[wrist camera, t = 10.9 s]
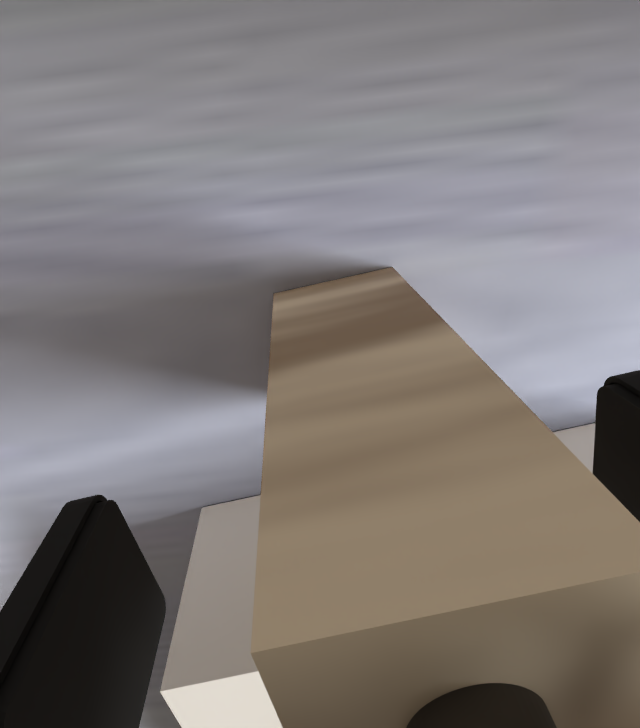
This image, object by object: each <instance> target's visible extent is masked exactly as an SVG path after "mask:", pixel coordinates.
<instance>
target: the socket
mask: <svg viewBox="0 0 640 728" xmlns="http://www.w3.org/2000/svg"><path fill="white" fill-rule="evenodd" d="M553 433H554V434H555V435H556V436H557V437H558V438H559V440H560V441H561V442H562V443H563V444H564V445H565V446H566V447H567V448H568V449H569V450H570V451H571V452H572V453H573V454H574V455H575V456H576V457H577V458H578V459H579V460H580V461H581V462H582V463H583V464H584V465H585V466H586V467H587V468H588V469H589V470H590V472H591V473H592V474H593V457H594V439H595V423H593V424H589V425H584V426H579V427H575V428H570V429H565V430H561V431H556V432H553ZM260 497H261V495H258V496H254V497H249V498H244V499H240V500H235V501H230V502H226V503H221V504H216V505H212V506H207V507H202V509H201V513H200V518H199V522H198V527H197V531H196V535H195V540H194V544H193V548H192V553H191V557H190V562H189V566H188V570H187V575H186V579H185V584H184V588H183V592H182V597H181V601H180V606H179V610H178V614H177V619H176V623H175V627H174V632H173V636H172V641H171V645H170V649H169V654H168V658H167V663H166V667H165V671H164V676H163V680H162V685H161V689H160V693H161V694H162V696H163V698H164V699H165V701H166V702H167V704H168V706H169V707H170V709H171V711H172V712H173V714H174V716H175V717H176V719H177V721H178V722H179V724H180V726H181V727H182V728H283V727H282V725H281V723H280V720H279V718H278V716H277V713H276V711H275V709H274V706H273V704H272V702H271V699H270V697H269V695H268V692H267V690H266V688H265V686H264V683H263V681H262V679H261V676H260V674H259V672H258V669H257V667H256V665H255V662H254V660H253V658H252V655H251V653H250V652H251V637H252V621H253V606H254V590H255V575H256V559H257V544H258V528H259V513H260Z"/></svg>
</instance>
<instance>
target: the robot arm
mask: <svg viewBox="0 0 640 728" xmlns="http://www.w3.org/2000/svg"><path fill="white" fill-rule="evenodd" d="M593 475H594V476H595V477H596V478H597V479H598V480H599V481H600V482H601V483H602V484H603V485H604V486H605V487H606V488H607V489H608V490H609V491H610V492H611V493H612V494H613V495H614V496H615V497H616V498H617V499H618V500H619V501H620V502H621V503H622V505H623V506H624V507H625V508H626V509H627V510H628V511H629V512H630V513H631V514H632V515H633V516H634V517H635V518H636V519H637V520H638V521H639V522H640V370H638V371H633V372H629V373H625V374H620V375H616V376H612V377H609V378H608V379H607V380H606V381H605V383H604V386H603V387H601V388H599V390H598V393H597V405H596V422H595V439H594V457H593ZM165 610H166V606H165V599H164V596H163V593H162V591H161V589H160V587H159V585H158V583H157V582H156V580H155V578H154V576H153V574H152V572H151V570H150V568H149V566H148V564H147V562H146V560H145V558H144V556H143V554H142V552H141V550H140V548H139V546H138V544H137V542H136V540H135V538H134V537H133V535H132V533H131V531H130V529H129V527H128V525H127V523H126V521H125V519H124V517H123V515H122V513H121V511H120V509H119V507H118V505H117V504H116V502H114V501H113V500H108V501H107V499H106V498H105V497H104V496H102V495H95V496H91V497H86V498H82V499H78V500H73V501H70V502H68V503H66V504H65V506H64V507H63V508H62V510H61V512H60V513H59V515H58V517H57V518H56V520H55V522H54V523H53V525H52V527H51V528H50V530H49V532H48V533H47V535H46V537H45V538H44V540H43V542H42V543H41V545H40V547H39V548H38V550H37V552H36V553H35V555H34V557H33V558H32V560H31V562H30V563H29V565H28V566H27V568H26V570H25V571H24V573H23V575H22V576H21V578H20V580H19V581H18V583H17V585H16V586H15V588H14V590H13V591H12V593H11V595H10V596H9V598H8V600H7V601H6V603H5V605H4V606H3V608H2V610H1V611H0V728H139V724H140V720H141V716H142V711H143V707H144V703H145V699H146V694H147V690H148V686H149V682H150V677H151V673H152V669H153V665H154V660H155V656H156V652H157V648H158V643H159V639H160V635H161V631H162V626H163V622H164V618H165Z"/></svg>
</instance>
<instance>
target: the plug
mask: <svg viewBox="0 0 640 728" xmlns="http://www.w3.org/2000/svg"><path fill="white" fill-rule="evenodd" d="M250 653H251V655H252V658H253V660H254V662H255V665H256V667H257V669H258V672H259V674H260V676H261V679H262V681H263V683H264V686H265V688H266V690H267V692H268V695H269V697H270V699H271V702H272V704H273V706H274V709H275V711H276V713H277V716H278V718H279V720H280V723H281V725H282V727H283V728H640V522H639V521H638V520H637V519H636V518H635V517H634V516H633V515H632V514H631V513H630V512H629V511H628V510H627V509H626V508H625V507H624V506H623V505H622V503H621V502H620V501H619V500H618V499H617V498H616V497H615V496H614V495H613V494H612V493H611V492H610V491H609V490H608V489H607V488H606V487H605V486H604V485H603V484H602V483H601V482H600V481H599V480H598V479H597V478H596V477H595V476H594V475H593V474H592V473H591V472H590V470H589V469H588V468H587V467H586V466H585V465H584V464H583V463H582V462H581V461H580V460H579V459H578V458H577V457H576V456H575V455H574V454H573V453H572V452H571V451H570V450H569V449H568V448H567V447H566V446H565V445H564V444H563V443H562V442H561V441H560V440H559V438H558V437H557V436H556V435H555V434H554V433H553V432H552V431H551V430H550V429H549V428H548V427H547V426H546V425H545V424H544V423H543V422H542V421H541V420H540V419H539V418H538V417H537V416H536V415H535V414H534V413H533V412H532V411H531V410H530V409H529V408H528V407H527V405H526V404H525V403H524V402H523V401H522V400H521V399H520V398H519V397H518V396H517V395H516V394H515V393H514V392H513V391H512V390H511V389H510V388H509V387H508V386H507V385H506V384H505V383H504V382H503V381H502V380H501V379H500V378H499V377H498V376H497V375H496V374H495V372H494V371H493V370H492V369H491V368H490V367H489V366H488V365H487V364H486V363H485V362H484V361H483V360H482V359H481V358H480V357H479V356H478V355H477V354H476V353H475V352H474V351H473V350H472V349H471V348H470V347H469V346H468V345H467V344H466V343H465V342H464V340H463V339H462V338H461V337H460V336H459V335H458V334H457V333H456V332H455V331H454V330H453V329H452V328H451V327H450V326H449V325H448V324H447V323H446V322H445V321H444V320H443V319H442V318H441V317H440V316H439V315H438V314H437V313H436V312H435V311H434V310H433V309H432V307H431V306H430V305H429V304H428V303H427V302H426V301H425V300H424V299H423V298H422V297H421V296H420V295H419V294H418V293H417V292H416V291H415V290H414V289H413V288H412V287H411V286H410V285H409V284H408V283H407V282H406V281H405V280H404V279H403V278H402V277H401V275H400V274H399V273H398V272H397V271H396V270H395V269H394V268H393V267H390V268H386V269H381V270H377V271H372V272H368V273H363V274H359V275H354V276H350V277H345V278H341V279H336V280H332V281H327V282H323V283H318V284H314V285H310V286H305V287H301V288H296V289H292V290H287V291H283V292H278V293H274V295H273V311H272V326H271V342H270V357H269V373H268V388H267V404H266V419H265V435H264V450H263V466H262V481H261V497H260V513H259V528H258V544H257V559H256V575H255V590H254V606H253V621H252V637H251V652H250Z"/></svg>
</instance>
